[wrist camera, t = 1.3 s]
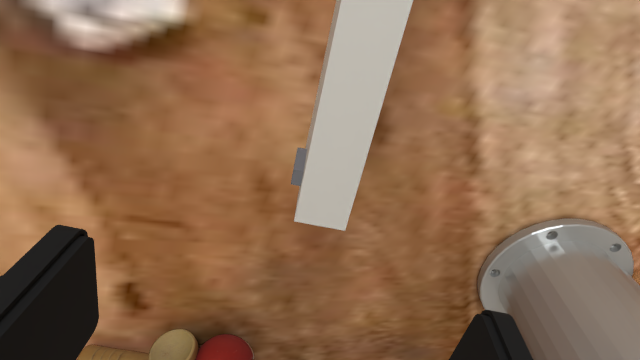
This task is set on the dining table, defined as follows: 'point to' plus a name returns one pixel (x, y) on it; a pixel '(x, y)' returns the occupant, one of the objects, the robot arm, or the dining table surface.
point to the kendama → (177, 349)
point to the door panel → (347, 107)
